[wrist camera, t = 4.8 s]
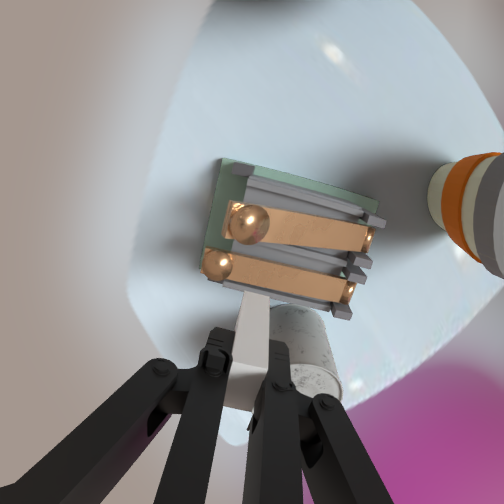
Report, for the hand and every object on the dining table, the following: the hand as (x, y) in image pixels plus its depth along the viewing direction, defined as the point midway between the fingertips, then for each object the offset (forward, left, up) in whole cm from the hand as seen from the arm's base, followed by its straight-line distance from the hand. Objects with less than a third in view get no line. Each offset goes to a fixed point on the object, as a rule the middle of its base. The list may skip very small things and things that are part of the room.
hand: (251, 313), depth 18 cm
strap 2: (+1, +3, -12) cm, 12 cm away
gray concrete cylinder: (+12, +7, -18) cm, 23 cm away
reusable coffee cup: (-12, +23, -18) cm, 32 cm away
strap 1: (-4, +3, -9) cm, 10 cm away
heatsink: (-1, +3, -18) cm, 18 cm away
